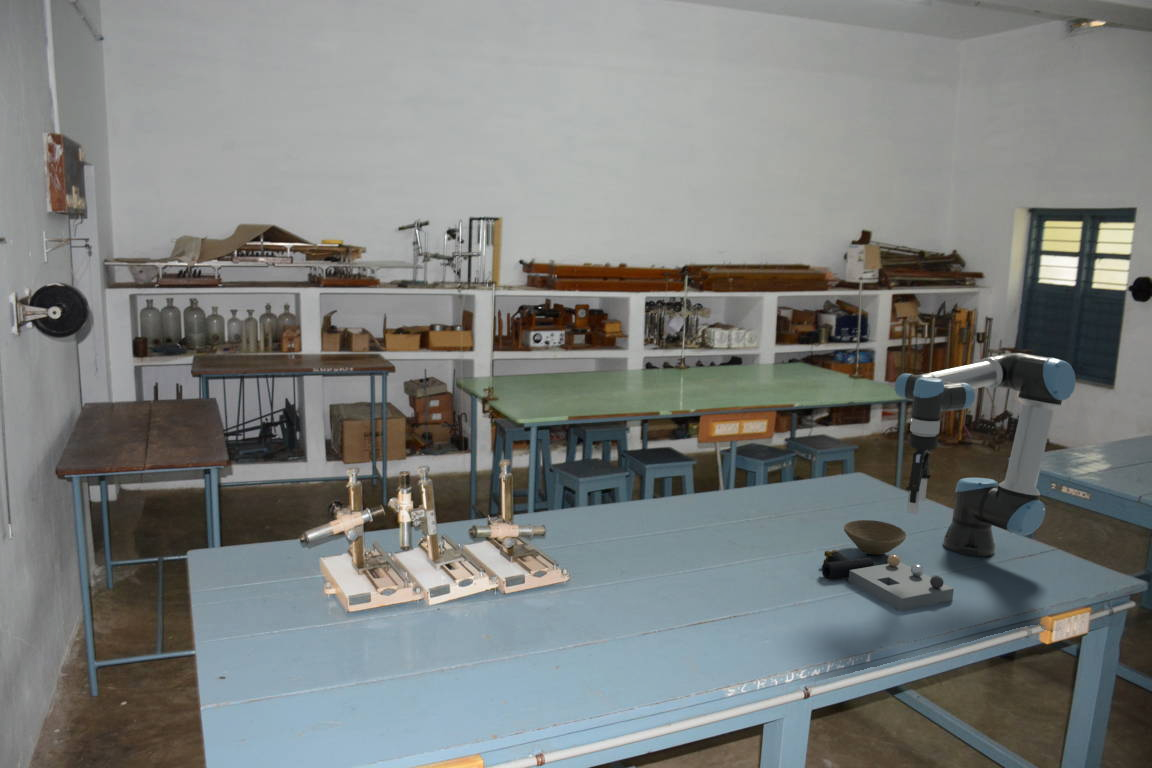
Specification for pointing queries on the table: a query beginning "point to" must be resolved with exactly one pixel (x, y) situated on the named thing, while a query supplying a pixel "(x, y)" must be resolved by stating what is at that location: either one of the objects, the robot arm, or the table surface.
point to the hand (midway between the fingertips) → (916, 506)
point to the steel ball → (917, 570)
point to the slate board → (899, 586)
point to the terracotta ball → (893, 560)
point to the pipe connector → (841, 565)
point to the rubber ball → (936, 582)
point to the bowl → (874, 536)
